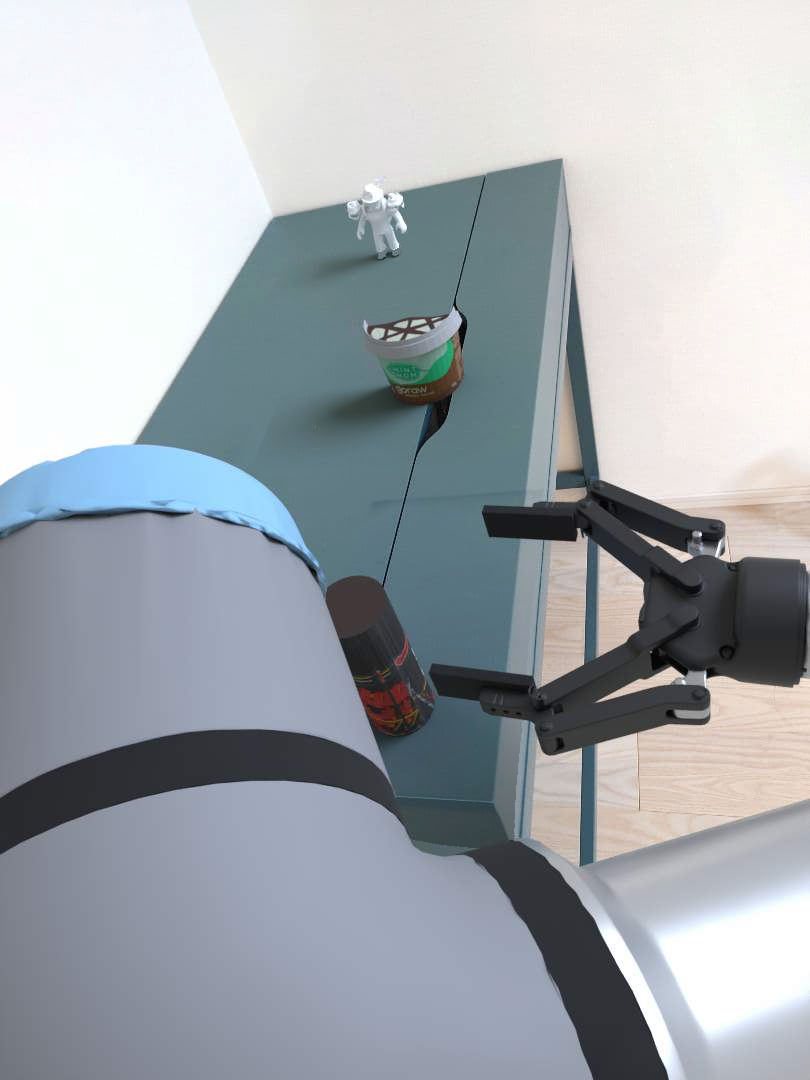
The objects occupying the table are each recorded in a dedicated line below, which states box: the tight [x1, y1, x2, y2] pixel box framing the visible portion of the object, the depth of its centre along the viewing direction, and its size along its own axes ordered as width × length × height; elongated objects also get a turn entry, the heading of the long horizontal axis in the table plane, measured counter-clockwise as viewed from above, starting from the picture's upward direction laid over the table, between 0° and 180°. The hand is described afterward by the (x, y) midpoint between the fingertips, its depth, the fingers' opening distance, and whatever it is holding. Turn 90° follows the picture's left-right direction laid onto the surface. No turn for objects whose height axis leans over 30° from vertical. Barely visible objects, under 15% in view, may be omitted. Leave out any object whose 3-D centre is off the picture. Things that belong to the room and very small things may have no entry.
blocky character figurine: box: [346, 174, 408, 253], centre depth 124 cm, size 9×4×12 cm, turn 81°
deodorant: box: [325, 575, 435, 737], centre depth 66 cm, size 6×6×15 cm
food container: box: [362, 305, 465, 406], centre depth 98 cm, size 12×6×10 cm, turn 81°
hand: (462, 594), depth 55 cm, fingers open, 13 cm apart
